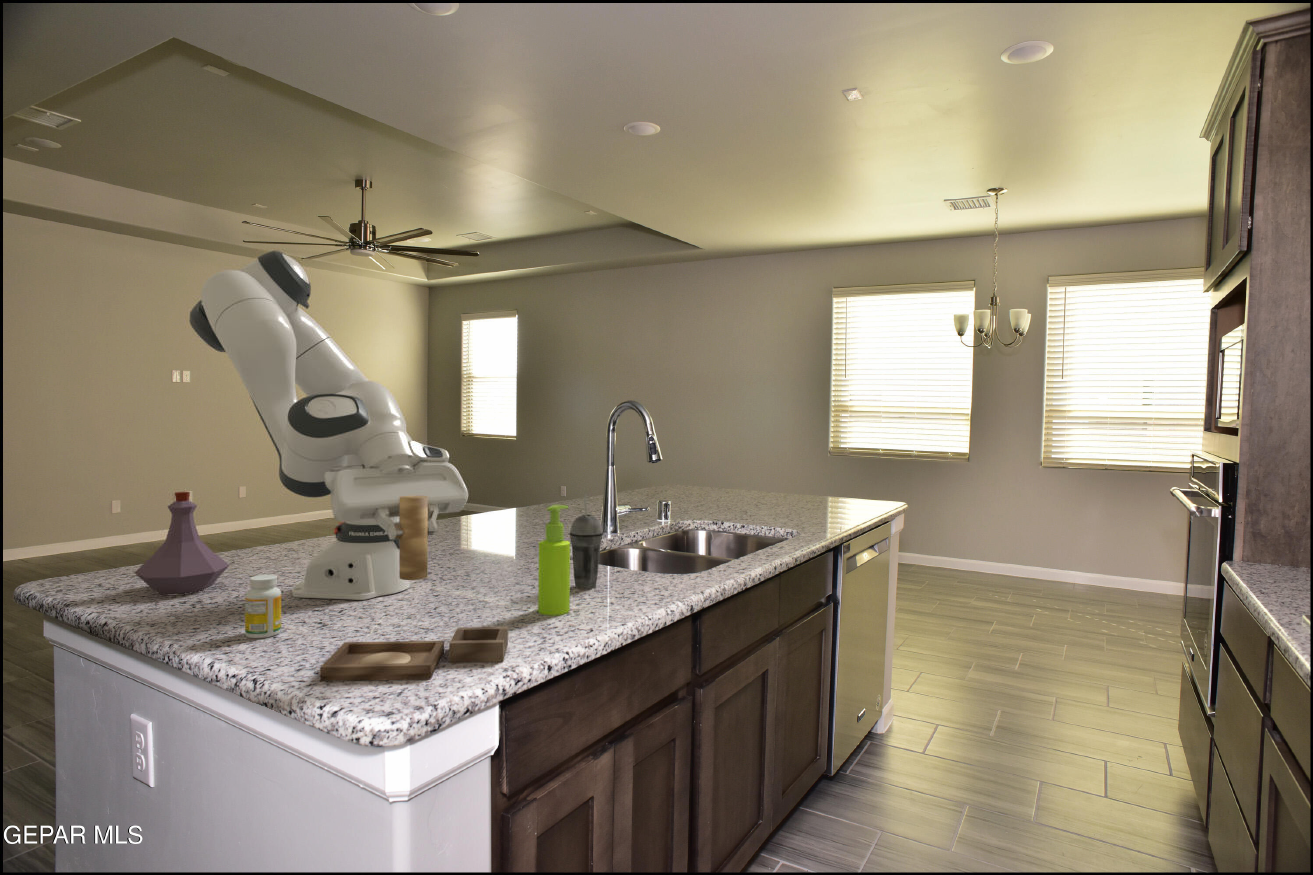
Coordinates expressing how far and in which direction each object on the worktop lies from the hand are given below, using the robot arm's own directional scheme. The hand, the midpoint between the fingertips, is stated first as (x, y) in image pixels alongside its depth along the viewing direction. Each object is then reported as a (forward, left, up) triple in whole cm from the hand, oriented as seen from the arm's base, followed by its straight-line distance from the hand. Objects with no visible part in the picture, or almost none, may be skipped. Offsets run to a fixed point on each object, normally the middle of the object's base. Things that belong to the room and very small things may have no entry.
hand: (414, 535), depth 110 cm
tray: (-4, -1, -19) cm, 20 cm away
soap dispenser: (+20, +28, -20) cm, 40 cm away
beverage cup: (+26, +46, -20) cm, 57 cm away
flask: (-56, +47, -20) cm, 76 cm away
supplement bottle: (-28, +16, -20) cm, 38 cm away
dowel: (0, +1, -6) cm, 6 cm away
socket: (+9, +4, -19) cm, 22 cm away
